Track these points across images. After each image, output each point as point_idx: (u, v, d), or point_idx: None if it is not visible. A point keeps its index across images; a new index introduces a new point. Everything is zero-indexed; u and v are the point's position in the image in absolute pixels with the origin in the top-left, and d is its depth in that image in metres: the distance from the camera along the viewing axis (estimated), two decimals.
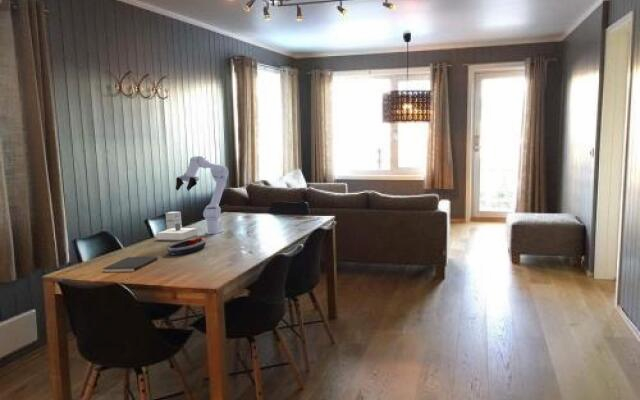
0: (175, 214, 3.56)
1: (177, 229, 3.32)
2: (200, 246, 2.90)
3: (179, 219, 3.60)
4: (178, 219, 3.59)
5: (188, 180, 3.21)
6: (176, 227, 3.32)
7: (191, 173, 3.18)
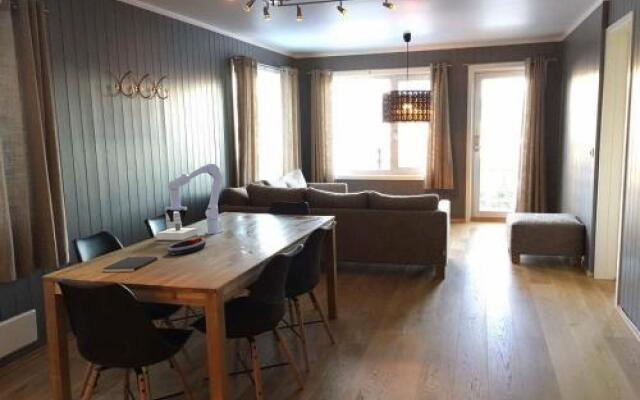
0: (175, 214, 3.56)
1: (177, 229, 3.32)
2: (200, 246, 2.90)
3: (179, 219, 3.60)
4: (178, 219, 3.59)
5: None
6: (176, 227, 3.32)
7: (177, 204, 3.29)
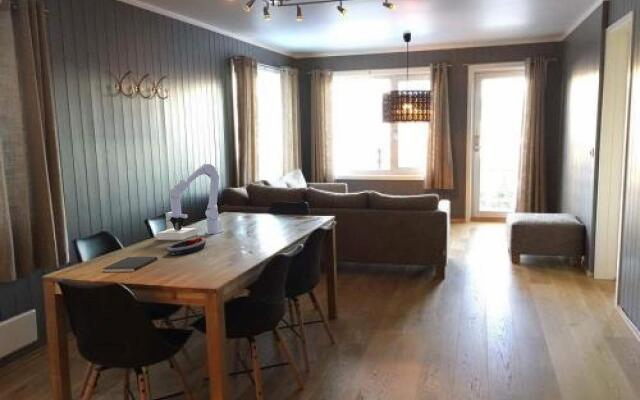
0: None
1: (177, 229, 3.32)
2: (200, 246, 2.90)
3: None
4: None
5: None
6: (176, 227, 3.32)
7: (177, 212, 3.29)
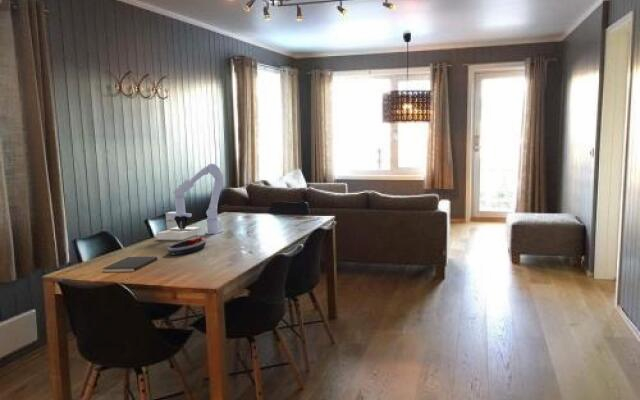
0: None
1: (181, 228, 3.36)
2: (200, 246, 2.90)
3: None
4: None
5: None
6: (180, 226, 3.36)
7: (182, 211, 3.33)
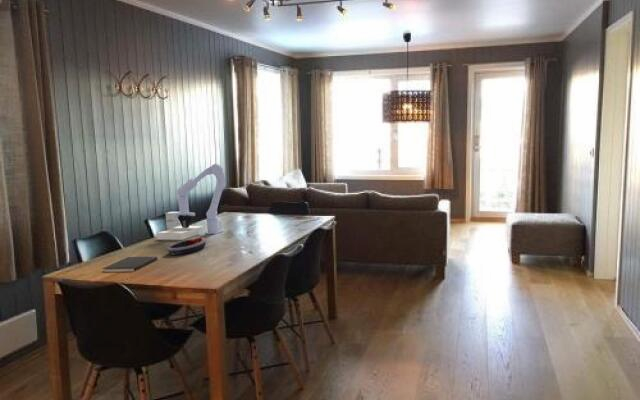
0: None
1: (185, 227, 3.39)
2: (200, 246, 2.90)
3: None
4: (178, 219, 3.59)
5: None
6: (184, 225, 3.40)
7: (185, 210, 3.37)
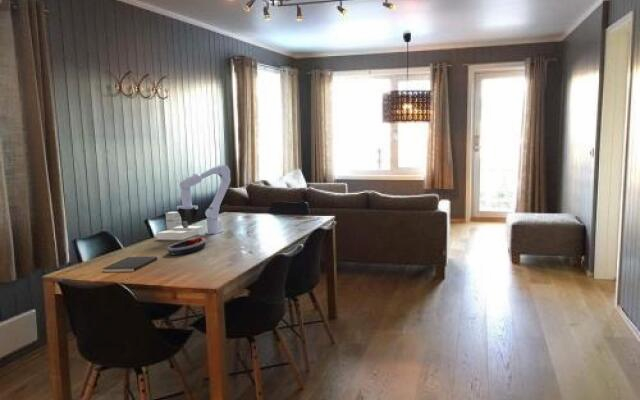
0: (175, 214, 3.56)
1: (185, 227, 3.39)
2: (200, 246, 2.90)
3: (179, 219, 3.60)
4: (178, 219, 3.59)
5: None
6: (184, 225, 3.40)
7: (188, 203, 3.31)
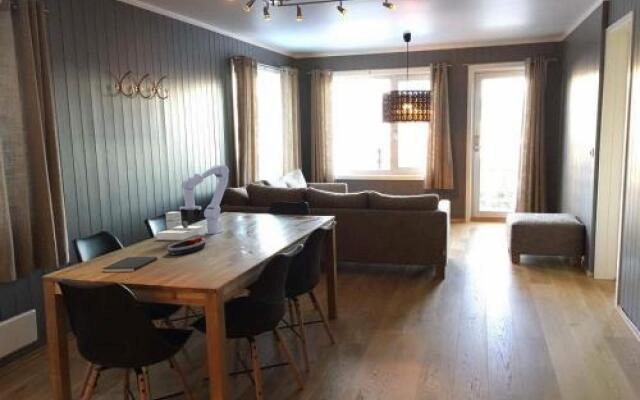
0: (175, 214, 3.56)
1: (185, 227, 3.39)
2: (200, 246, 2.90)
3: (179, 219, 3.60)
4: (178, 219, 3.59)
5: None
6: (184, 225, 3.40)
7: (191, 203, 3.27)
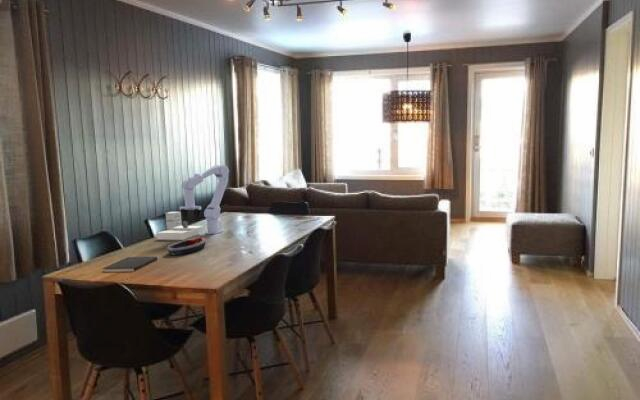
0: (175, 214, 3.56)
1: (185, 227, 3.39)
2: (200, 246, 2.90)
3: (179, 219, 3.60)
4: (178, 219, 3.59)
5: None
6: (184, 225, 3.40)
7: (191, 203, 3.27)
